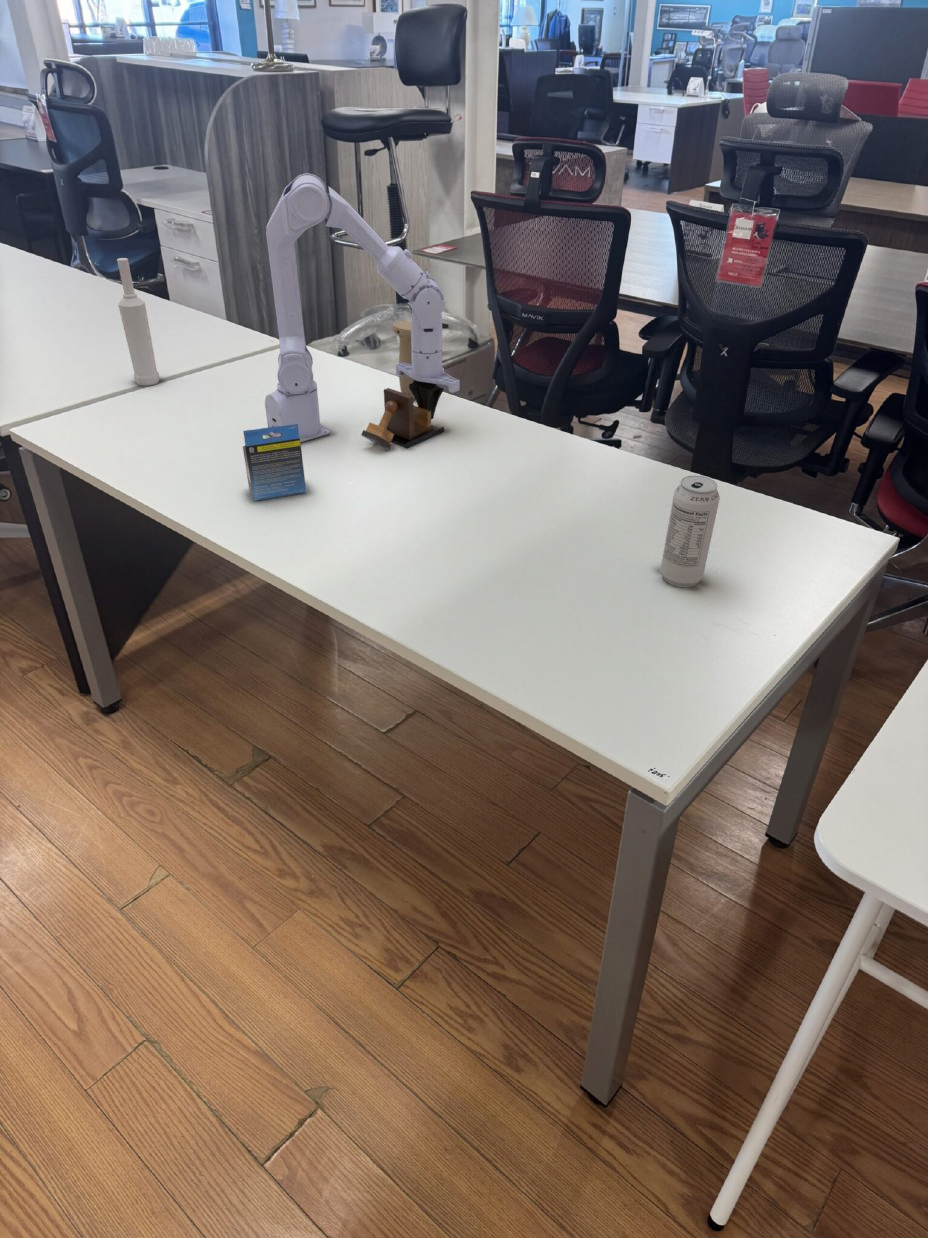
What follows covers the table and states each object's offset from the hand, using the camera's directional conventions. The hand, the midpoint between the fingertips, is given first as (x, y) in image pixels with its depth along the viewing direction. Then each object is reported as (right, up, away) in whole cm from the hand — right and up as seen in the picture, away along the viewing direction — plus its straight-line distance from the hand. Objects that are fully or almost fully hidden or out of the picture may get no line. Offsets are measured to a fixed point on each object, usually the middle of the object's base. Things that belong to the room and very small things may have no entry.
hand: (427, 418), depth 164 cm
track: (-3, -3, -2) cm, 5 cm away
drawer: (-3, -3, -3) cm, 5 cm away
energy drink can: (+38, -33, -42) cm, 66 cm away
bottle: (-61, +12, +19) cm, 65 cm away
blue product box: (-24, -18, -23) cm, 37 cm away
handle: (-4, +7, +13) cm, 16 cm away
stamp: (-7, -6, -6) cm, 11 cm away
